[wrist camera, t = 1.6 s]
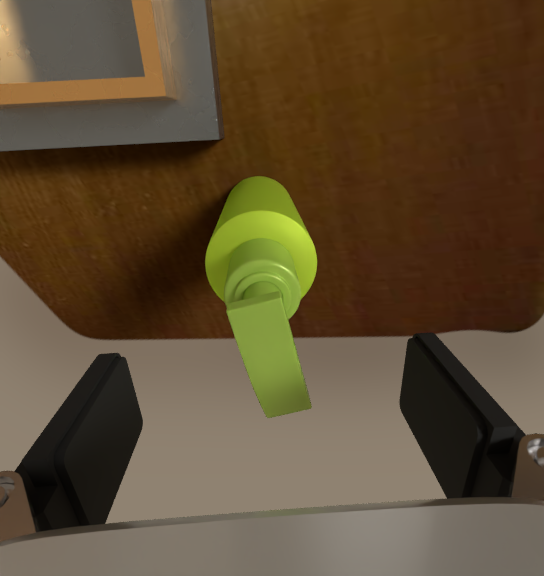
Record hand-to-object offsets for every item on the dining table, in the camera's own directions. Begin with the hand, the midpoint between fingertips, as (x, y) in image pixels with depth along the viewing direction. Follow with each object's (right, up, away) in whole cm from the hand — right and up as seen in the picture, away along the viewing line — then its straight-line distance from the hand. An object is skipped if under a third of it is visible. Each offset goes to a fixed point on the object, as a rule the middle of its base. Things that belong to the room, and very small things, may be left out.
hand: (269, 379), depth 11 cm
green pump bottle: (-1, +9, +19) cm, 21 cm away
